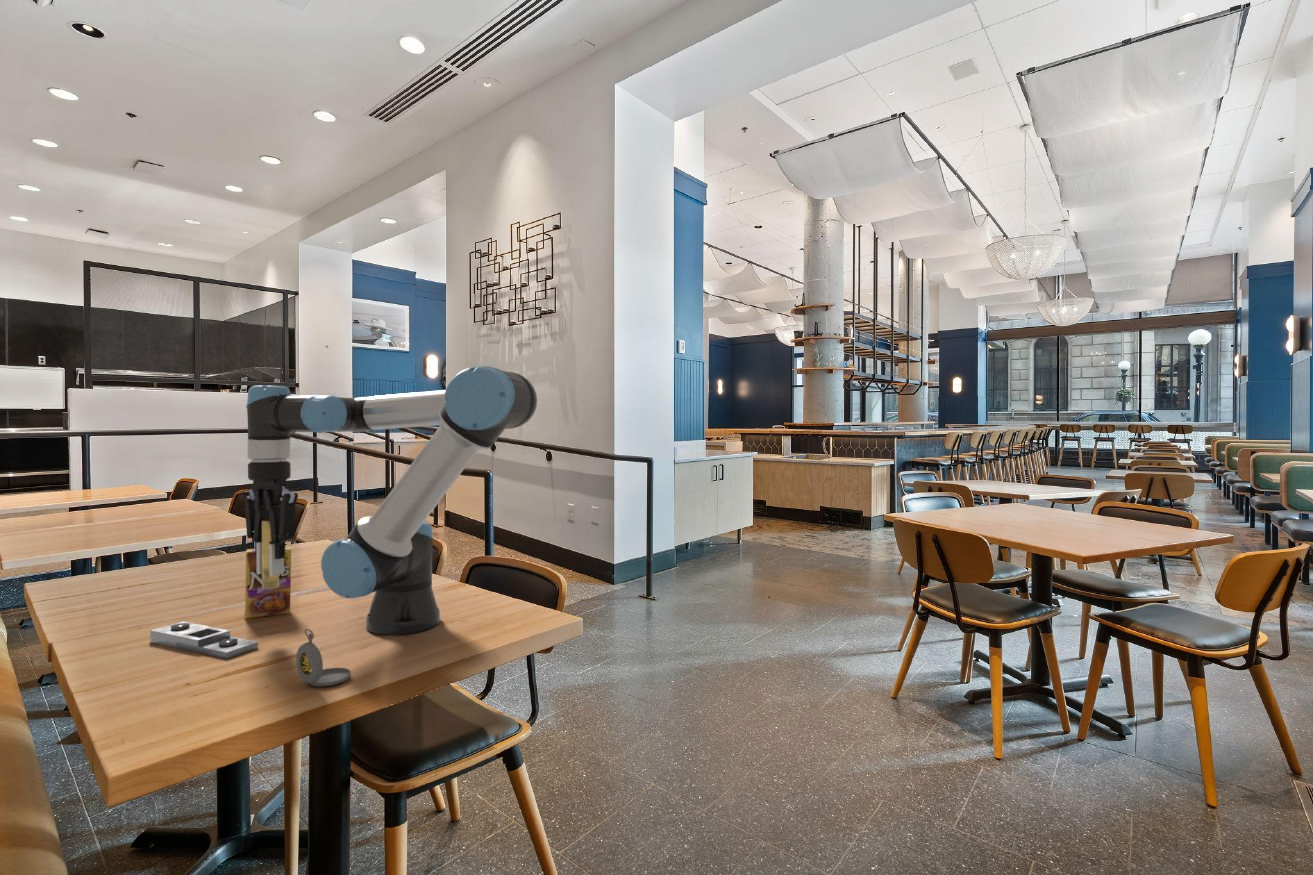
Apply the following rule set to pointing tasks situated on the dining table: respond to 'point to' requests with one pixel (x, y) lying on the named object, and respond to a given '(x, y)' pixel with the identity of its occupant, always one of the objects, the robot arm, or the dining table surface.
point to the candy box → (270, 599)
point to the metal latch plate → (201, 639)
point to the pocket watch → (317, 666)
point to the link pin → (267, 558)
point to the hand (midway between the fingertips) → (270, 573)
